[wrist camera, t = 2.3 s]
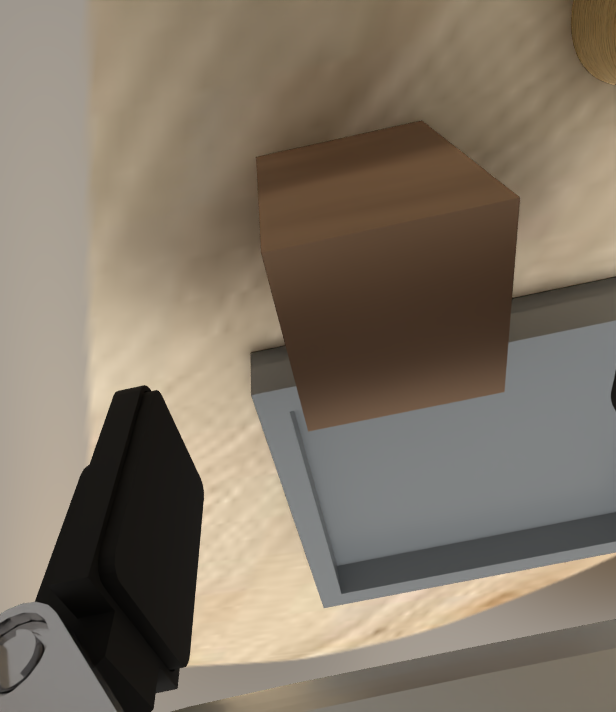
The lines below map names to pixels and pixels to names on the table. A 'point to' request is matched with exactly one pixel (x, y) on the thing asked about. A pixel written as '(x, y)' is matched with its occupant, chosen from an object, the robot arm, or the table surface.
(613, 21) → the brass cylinder
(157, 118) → the table surface
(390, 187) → the walnut block
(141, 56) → the table surface
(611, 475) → the tray
